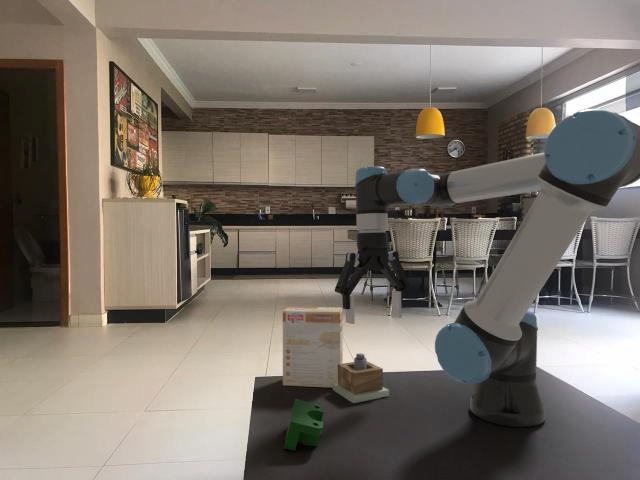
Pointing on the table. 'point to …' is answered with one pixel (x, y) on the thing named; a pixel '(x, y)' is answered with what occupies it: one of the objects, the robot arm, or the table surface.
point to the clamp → (304, 424)
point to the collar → (360, 378)
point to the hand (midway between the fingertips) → (374, 320)
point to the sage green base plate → (360, 364)
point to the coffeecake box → (312, 346)
